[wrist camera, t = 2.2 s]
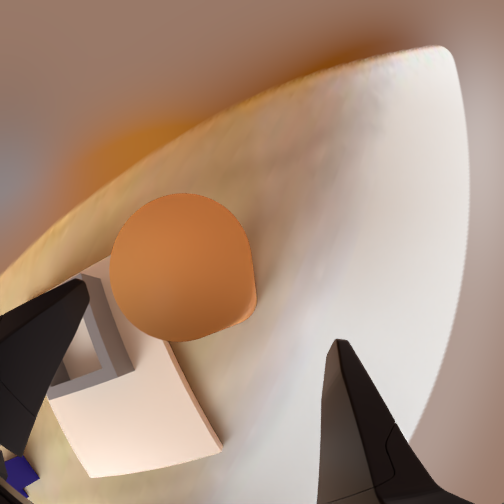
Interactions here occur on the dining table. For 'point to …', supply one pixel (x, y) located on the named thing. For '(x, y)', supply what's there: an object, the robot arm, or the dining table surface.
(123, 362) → the keeper plate
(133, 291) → the toggle bar
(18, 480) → the cable clip
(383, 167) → the dining table surface
